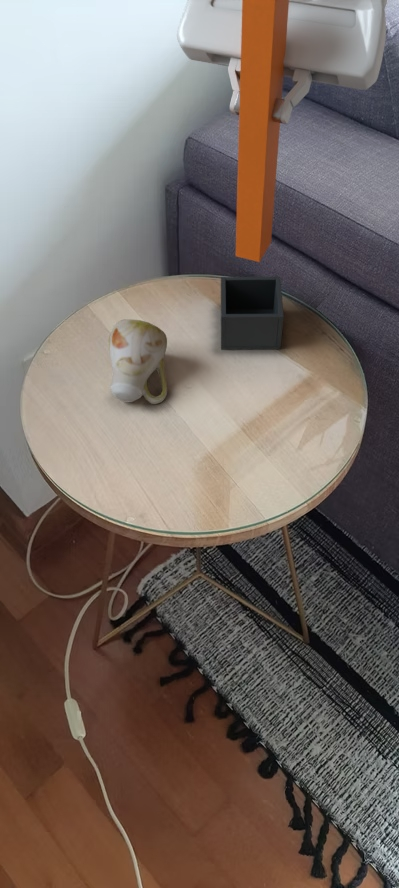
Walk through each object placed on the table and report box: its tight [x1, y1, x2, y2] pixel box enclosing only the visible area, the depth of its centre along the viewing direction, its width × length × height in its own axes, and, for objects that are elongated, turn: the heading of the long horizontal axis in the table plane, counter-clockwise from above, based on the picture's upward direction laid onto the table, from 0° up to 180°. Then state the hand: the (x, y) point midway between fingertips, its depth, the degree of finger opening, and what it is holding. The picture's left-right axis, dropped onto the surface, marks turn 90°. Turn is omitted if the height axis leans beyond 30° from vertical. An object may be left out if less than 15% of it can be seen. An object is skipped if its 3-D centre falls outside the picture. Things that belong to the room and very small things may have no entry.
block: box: [235, 0, 289, 263], centre depth 70 cm, size 3×4×28 cm
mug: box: [108, 318, 168, 405], centre depth 85 cm, size 8×10×10 cm
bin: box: [220, 276, 285, 351], centre depth 89 cm, size 8×8×6 cm
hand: (258, 117), depth 68 cm, fingers closed on block, 3 cm apart
